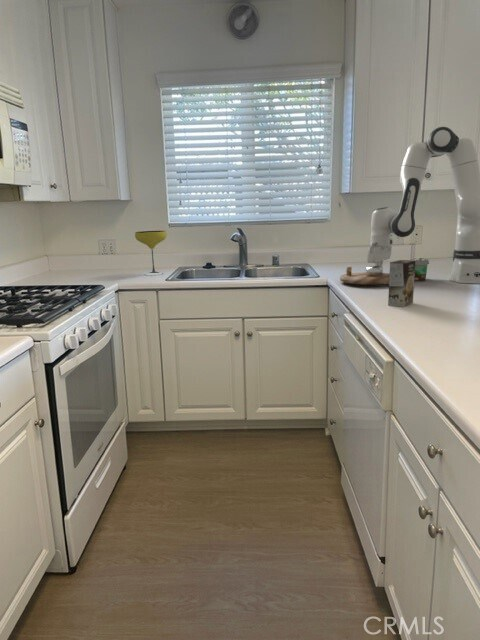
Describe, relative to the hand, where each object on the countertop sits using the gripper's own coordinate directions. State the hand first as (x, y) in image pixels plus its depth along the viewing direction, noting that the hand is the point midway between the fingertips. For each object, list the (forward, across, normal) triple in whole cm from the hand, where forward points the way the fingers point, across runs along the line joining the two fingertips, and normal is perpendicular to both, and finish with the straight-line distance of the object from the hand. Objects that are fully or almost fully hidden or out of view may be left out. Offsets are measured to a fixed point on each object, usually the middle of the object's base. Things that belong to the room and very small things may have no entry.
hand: (378, 270), depth 231 cm
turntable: (+3, -10, 0) cm, 11 cm away
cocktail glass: (+5, -38, +123) cm, 129 cm away
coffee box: (+5, -49, -30) cm, 58 cm away
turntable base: (+5, -10, 0) cm, 11 cm away
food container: (+5, +8, -18) cm, 20 cm away
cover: (+2, -6, 0) cm, 6 cm away
